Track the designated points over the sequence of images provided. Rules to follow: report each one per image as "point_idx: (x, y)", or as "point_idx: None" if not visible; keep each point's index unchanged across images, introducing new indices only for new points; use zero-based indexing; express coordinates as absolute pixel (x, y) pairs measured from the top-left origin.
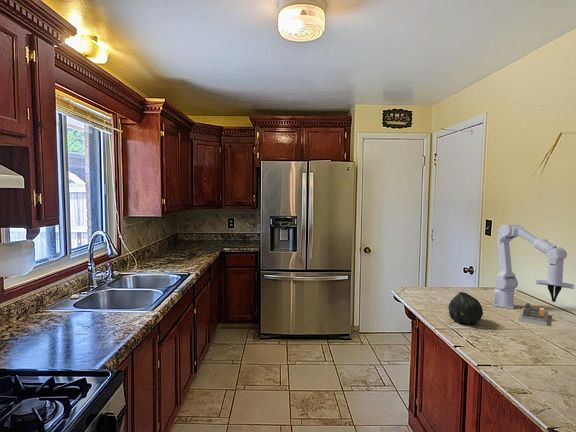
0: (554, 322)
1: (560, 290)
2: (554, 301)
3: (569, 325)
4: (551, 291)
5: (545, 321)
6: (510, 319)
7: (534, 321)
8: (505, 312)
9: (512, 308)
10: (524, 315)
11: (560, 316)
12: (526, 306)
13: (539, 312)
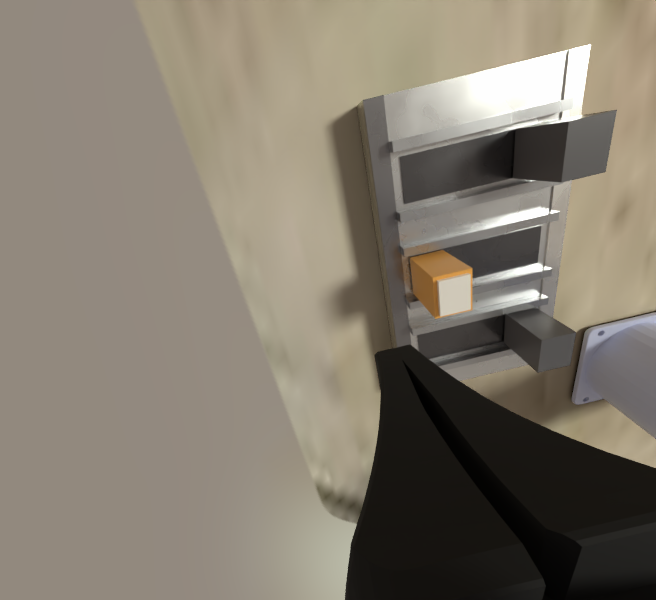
0: (335, 258)
1: (352, 546)
2: (386, 352)
3: (247, 273)
4: (521, 443)
5: (377, 121)
6: (627, 23)
7: (453, 78)
8: (640, 214)
9: (592, 328)
10: (550, 120)
11: (341, 406)
12: (552, 323)
13: (454, 259)
